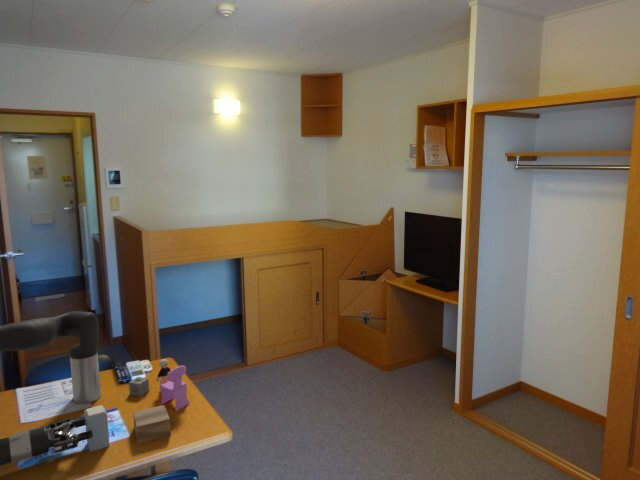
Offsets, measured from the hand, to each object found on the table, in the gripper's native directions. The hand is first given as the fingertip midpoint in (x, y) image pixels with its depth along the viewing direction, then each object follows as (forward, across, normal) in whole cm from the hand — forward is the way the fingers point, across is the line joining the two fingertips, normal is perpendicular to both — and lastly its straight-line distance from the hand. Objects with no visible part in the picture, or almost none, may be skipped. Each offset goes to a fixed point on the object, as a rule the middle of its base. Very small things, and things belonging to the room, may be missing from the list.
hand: (90, 427), depth 148 cm
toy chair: (+30, +12, +7) cm, 33 cm away
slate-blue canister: (+2, 0, +6) cm, 7 cm away
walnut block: (+18, -2, +7) cm, 19 cm away
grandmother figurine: (+30, +24, +7) cm, 39 cm away
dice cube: (+21, +28, +7) cm, 35 cm away
